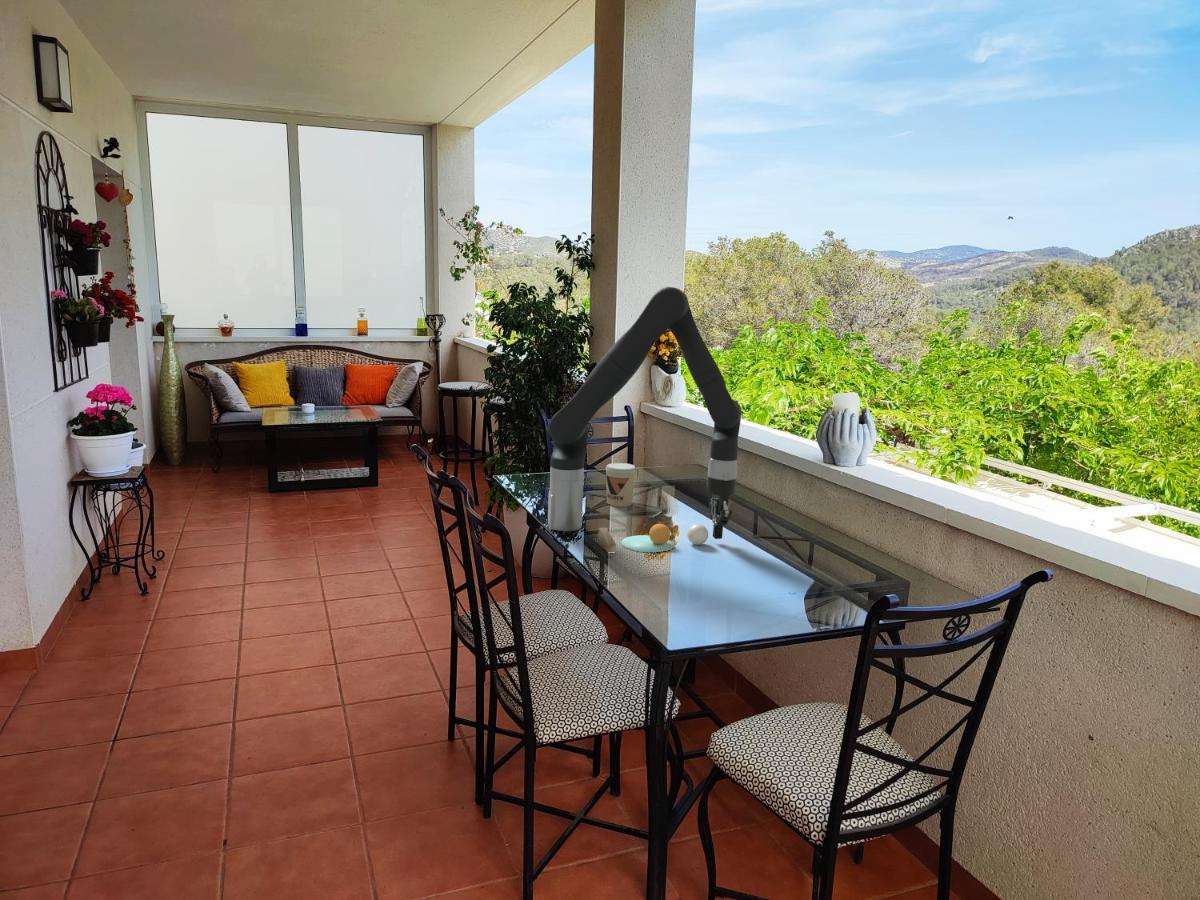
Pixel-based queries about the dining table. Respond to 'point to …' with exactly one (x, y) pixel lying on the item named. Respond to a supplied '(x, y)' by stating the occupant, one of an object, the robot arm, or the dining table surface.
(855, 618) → the dining table surface
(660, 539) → the object ball
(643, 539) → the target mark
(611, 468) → the coffee cup
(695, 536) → the cue ball
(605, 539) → the brown wooden bar
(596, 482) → the dining table surface
